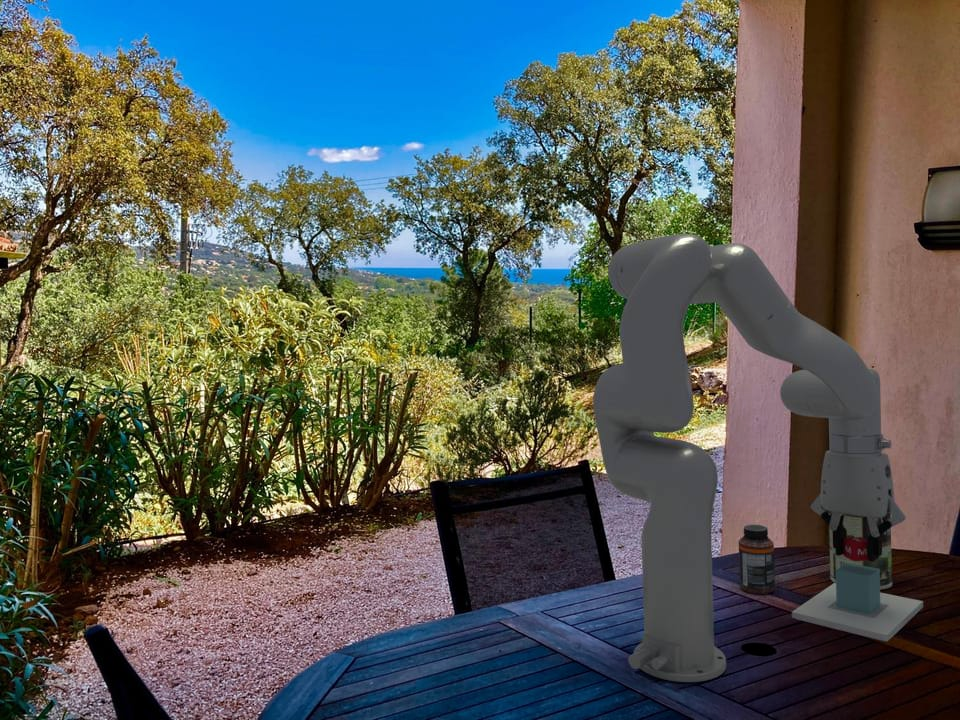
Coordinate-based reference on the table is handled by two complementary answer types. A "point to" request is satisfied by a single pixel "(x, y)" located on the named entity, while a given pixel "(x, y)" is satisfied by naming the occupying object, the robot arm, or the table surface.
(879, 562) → the coffee can
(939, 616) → the table surface
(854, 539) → the red letter cube
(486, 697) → the table surface
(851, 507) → the robot arm
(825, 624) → the pad
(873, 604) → the teal block
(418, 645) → the table surface
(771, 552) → the supplement bottle
